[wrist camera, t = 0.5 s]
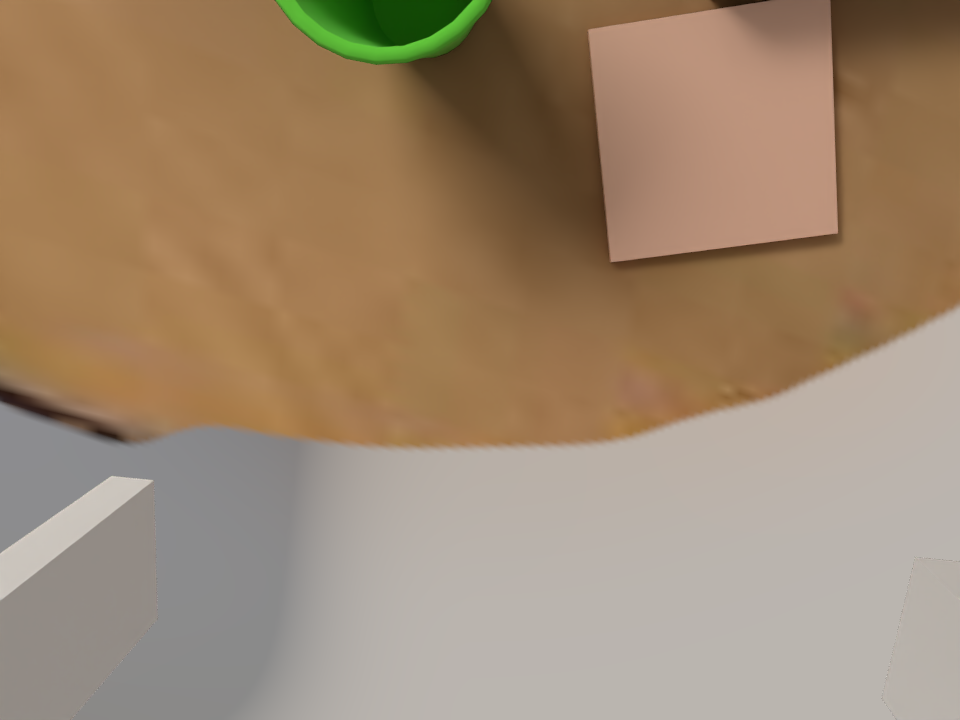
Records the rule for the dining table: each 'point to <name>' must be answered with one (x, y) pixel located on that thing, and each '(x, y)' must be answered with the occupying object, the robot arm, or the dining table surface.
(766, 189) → the plate
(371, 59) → the cup
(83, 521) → the robot arm
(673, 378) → the dining table surface
